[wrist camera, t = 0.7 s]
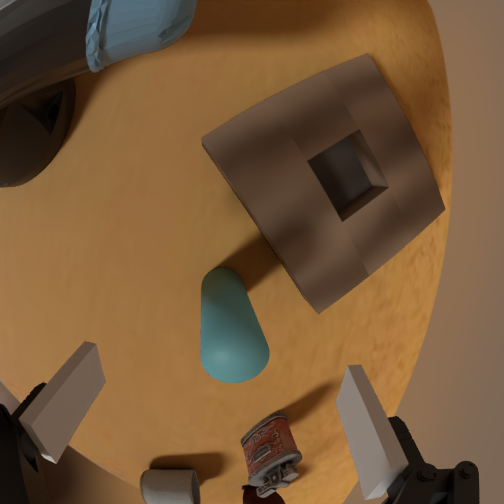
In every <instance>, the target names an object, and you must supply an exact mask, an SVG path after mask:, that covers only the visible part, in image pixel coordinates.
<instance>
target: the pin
mask: <svg viewBox="0 0 504 504" xmlns="http://www.w3.org/2000/svg"><path fill="white" fill-rule="evenodd" d="M268 360H269V347H268V344H267V342H266V339H265V337H264V334H263V332H262V329H261V327H260V324H259V322H258V320H257V317H256V315H255V312H254V310H253V307H252V305H251V302H250V300H249V297H248V295H247V292H246V290H245V287H244V285H243V282H242V280H241V278H240V276H239V275H238V274H237V273H236V272H235V271H233V270H231V269H229V268H216V269H214V270H212V271H210V272H209V273H208V274H207V275H206V276H205V277H204V279H203V281H202V287H201V362H202V365H203V367H204V369H205V371H206V372H207V373H208V374H209V375H210V376H212V377H213V378H215V379H217V380H219V381H223V382H227V383H239V382H244V381H247V380H250V379H252V378H254V377H255V376H257V375H258V374H259V373H260V372H261V371H262V370H263V369H264V368H265V366H266V364H267V362H268Z"/></svg>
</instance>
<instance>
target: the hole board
mask: <svg viewBox="0 0 504 504" xmlns="http://www.w3.org/2000/svg"><path fill="white" fill-rule="evenodd" d="M202 146H203V147H204V149H205V150H206V152H207V153H208V155H209V156H210V158H211V159H212V160H213V162H214V163H215V165H216V166H217V168H218V169H219V171H220V172H221V174H222V175H223V177H224V178H225V179H226V181H227V182H228V184H229V185H230V187H231V188H232V190H233V191H234V193H235V194H236V196H237V197H238V199H239V200H240V202H241V203H242V205H243V206H244V208H245V209H246V211H247V212H248V214H249V215H250V217H251V218H252V220H253V221H254V223H255V224H256V226H257V227H258V229H259V230H260V232H261V233H262V235H263V236H264V238H265V239H266V241H267V242H268V244H269V245H270V247H271V248H272V250H273V251H274V253H275V254H276V256H277V257H278V259H279V260H280V262H281V263H282V265H283V266H284V268H285V269H286V271H287V273H288V274H289V276H290V277H291V279H292V280H293V282H294V283H295V285H296V286H297V288H298V289H299V291H300V293H301V294H302V296H303V297H304V299H305V300H306V301H307V302H308V303H309V304H310V305H311V307H312V308H313V309H314V310H315V311H316V312H317V313H318V314H320V313H321V312H322V311H324V310H325V309H326V308H328V307H329V306H331V305H332V304H333V303H335V302H336V301H337V300H339V299H340V298H341V297H343V296H344V295H345V294H347V293H348V292H349V291H351V290H352V289H353V288H354V287H356V286H357V285H358V284H360V283H361V282H362V281H363V280H365V279H366V278H367V277H369V276H370V275H371V274H372V273H374V272H375V271H376V270H377V269H378V268H380V267H381V266H382V265H383V264H385V263H386V262H387V261H388V260H389V259H391V258H392V257H393V256H394V255H395V254H397V253H398V252H399V251H400V250H401V249H402V248H404V247H405V246H406V245H407V244H408V243H409V242H410V241H412V240H413V239H414V238H415V237H416V236H417V235H418V234H420V233H421V232H422V231H423V230H424V229H425V228H426V227H427V226H428V225H429V224H431V223H432V222H433V221H434V220H435V219H436V218H437V217H438V216H439V215H440V214H441V213H442V212H443V211H444V210H445V207H444V204H443V201H442V198H441V195H440V192H439V189H438V187H437V184H436V181H435V179H434V176H433V174H432V171H431V169H430V166H429V164H428V162H427V159H426V157H425V155H424V152H423V150H422V148H421V146H420V144H419V141H418V139H417V137H416V135H415V133H414V131H413V129H412V127H411V125H410V123H409V121H408V119H407V117H406V115H405V113H404V112H403V110H402V108H401V106H400V104H399V102H398V101H397V99H396V97H395V95H394V94H393V92H392V90H391V89H390V87H389V85H388V84H387V82H386V80H385V79H384V77H383V76H382V74H381V72H380V71H379V69H378V68H377V66H376V65H375V63H374V62H373V60H372V59H371V57H370V56H369V55H368V54H365V55H362V56H360V57H357V58H354V59H352V60H349V61H347V62H344V63H342V64H340V65H337V66H335V67H332V68H330V69H328V70H326V71H323V72H321V73H319V74H317V75H314V76H312V77H310V78H308V79H306V80H304V81H302V82H299V83H297V84H295V85H293V86H291V87H289V88H287V89H285V90H283V91H281V92H279V93H277V94H275V95H274V96H272V97H270V98H268V99H266V100H264V101H262V102H261V103H259V104H257V105H255V106H253V107H251V108H250V109H248V110H246V111H244V112H243V113H241V114H239V115H238V116H236V117H234V118H232V119H231V120H229V121H227V122H226V123H224V124H223V125H221V126H219V127H218V128H216V129H214V130H213V131H211V132H210V133H208V134H207V135H205V136H203V137H202Z"/></svg>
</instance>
